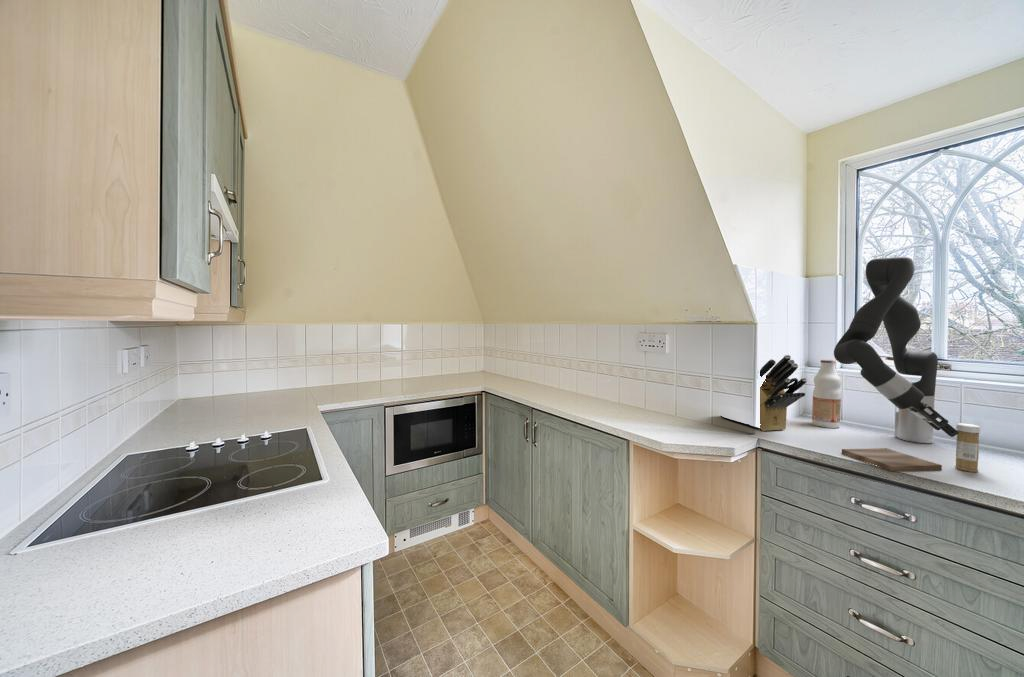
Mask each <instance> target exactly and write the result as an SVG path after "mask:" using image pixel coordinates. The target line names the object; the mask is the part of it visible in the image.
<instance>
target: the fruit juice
mask: <svg viewBox="0 0 1024 677" xmlns="http://www.w3.org/2000/svg"><path fill="white" fill-rule="evenodd" d="M835 364H836V359H835V360H834V359H820V367H819V369H818V372H817V373H816V375H815V376H814V377H813V383H814V388H813V390H812V411H811V412H812V414H811V423H812V425H814V426H817V427H821V428H829V429H837V428H838V429H839V428H840V427H841V411H842V407H841V406H842V392H841V389H840V387H841V385H842V379H841V377H840V375H839V373H838V372H837V369H836V367H835Z"/></svg>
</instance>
